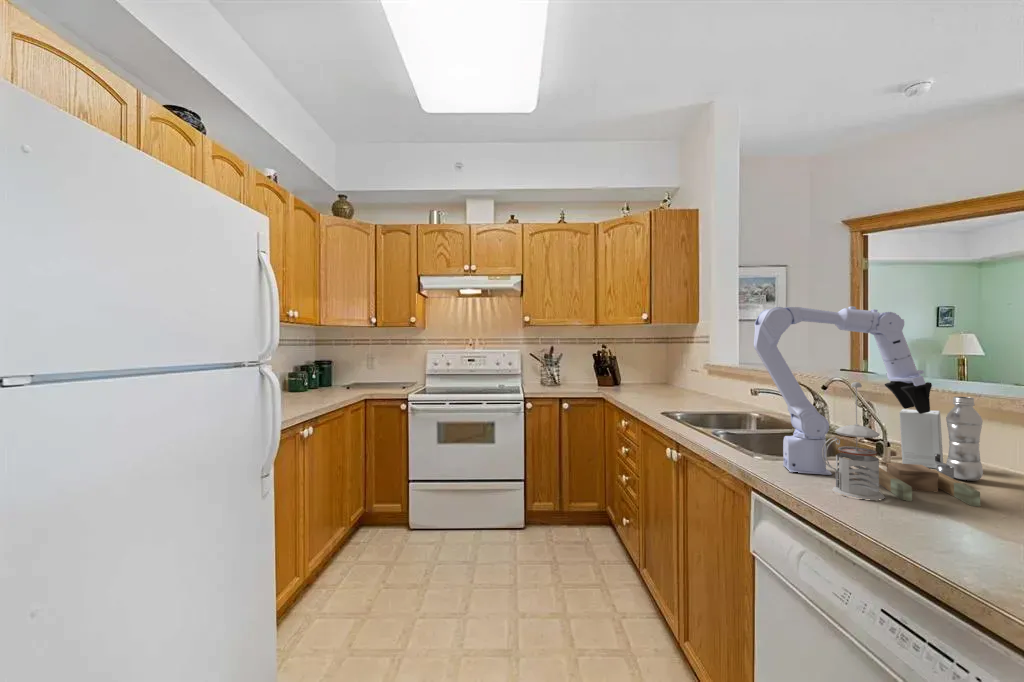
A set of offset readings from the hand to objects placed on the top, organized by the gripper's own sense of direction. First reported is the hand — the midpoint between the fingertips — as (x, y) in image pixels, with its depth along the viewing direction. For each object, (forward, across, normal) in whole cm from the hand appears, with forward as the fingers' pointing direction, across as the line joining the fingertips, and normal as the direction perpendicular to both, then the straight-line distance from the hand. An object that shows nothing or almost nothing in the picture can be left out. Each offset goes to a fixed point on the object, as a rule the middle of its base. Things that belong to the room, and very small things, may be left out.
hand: (916, 410), depth 117 cm
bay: (+14, -14, +10) cm, 22 cm away
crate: (+15, -10, +10) cm, 20 cm away
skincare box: (+18, +12, -1) cm, 22 cm away
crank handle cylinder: (+17, -4, +2) cm, 17 cm away
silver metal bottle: (+19, 0, -4) cm, 19 cm away
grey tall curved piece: (+10, -19, +24) cm, 32 cm away
